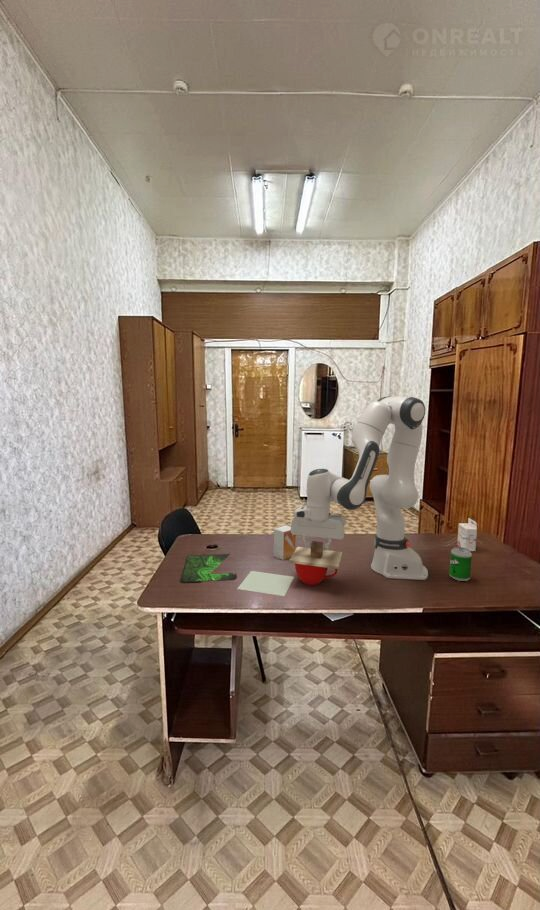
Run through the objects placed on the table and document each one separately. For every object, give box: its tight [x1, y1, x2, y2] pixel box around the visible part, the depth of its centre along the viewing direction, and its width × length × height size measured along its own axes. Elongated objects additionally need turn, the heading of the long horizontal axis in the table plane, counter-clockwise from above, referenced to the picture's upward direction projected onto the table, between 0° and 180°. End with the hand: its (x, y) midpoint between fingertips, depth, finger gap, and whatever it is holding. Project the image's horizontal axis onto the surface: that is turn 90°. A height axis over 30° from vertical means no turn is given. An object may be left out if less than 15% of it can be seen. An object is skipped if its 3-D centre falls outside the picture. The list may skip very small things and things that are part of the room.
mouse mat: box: [179, 553, 238, 584], centre depth 159 cm, size 27×22×1 cm
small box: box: [273, 524, 297, 561], centre depth 171 cm, size 8×6×13 cm
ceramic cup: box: [294, 563, 338, 586], centre depth 145 cm, size 13×17×10 cm
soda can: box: [448, 546, 473, 582], centre depth 150 cm, size 8×8×12 cm
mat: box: [236, 570, 295, 597], centre depth 145 cm, size 18×16×1 cm
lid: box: [288, 540, 343, 570], centre depth 144 cm, size 18×14×6 cm
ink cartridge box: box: [456, 517, 478, 552], centre depth 181 cm, size 9×5×15 cm, turn 179°
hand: (316, 547), depth 144 cm, fingers open, 6 cm apart
